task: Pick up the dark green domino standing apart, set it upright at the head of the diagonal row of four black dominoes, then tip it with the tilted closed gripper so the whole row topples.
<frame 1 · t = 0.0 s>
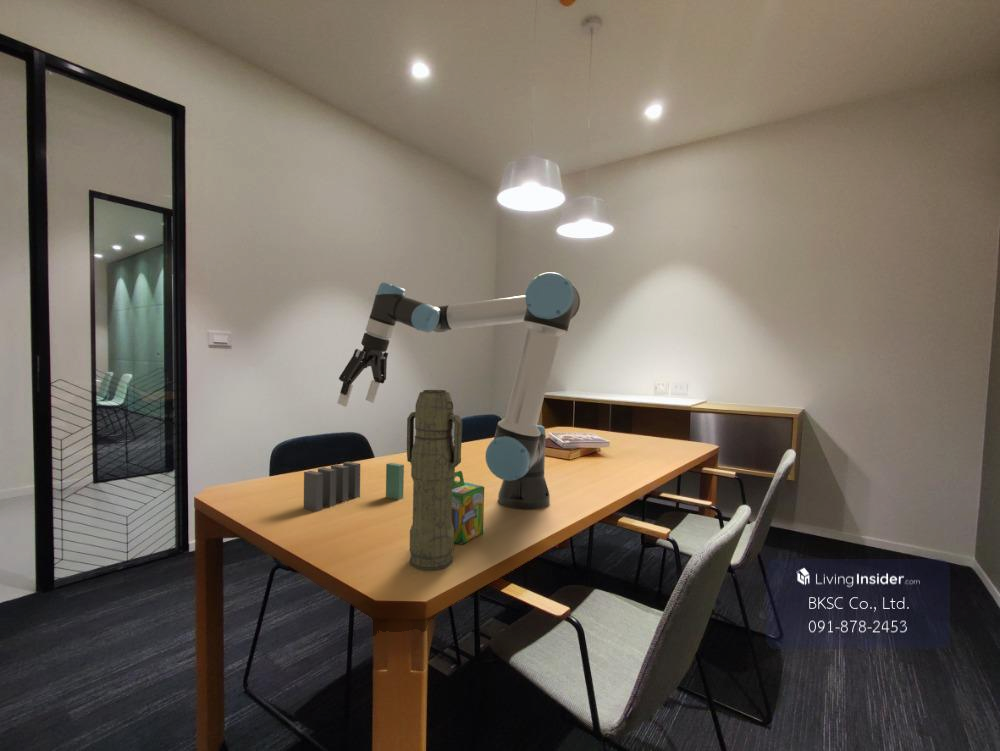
hand: (356, 403, 134), 28 cm above the table, tool tilted 20°, fingers open, 13 cm apart
thermos: (431, 562, 92), on the table
chalk box: (458, 535, 106), on the table
domino 5: (312, 509, 122), on the table
domino 3: (339, 500, 129), on the table
domino 4: (326, 504, 126), on the table
domino 2: (351, 496, 133), on the table
green domino: (394, 497, 133), on the table
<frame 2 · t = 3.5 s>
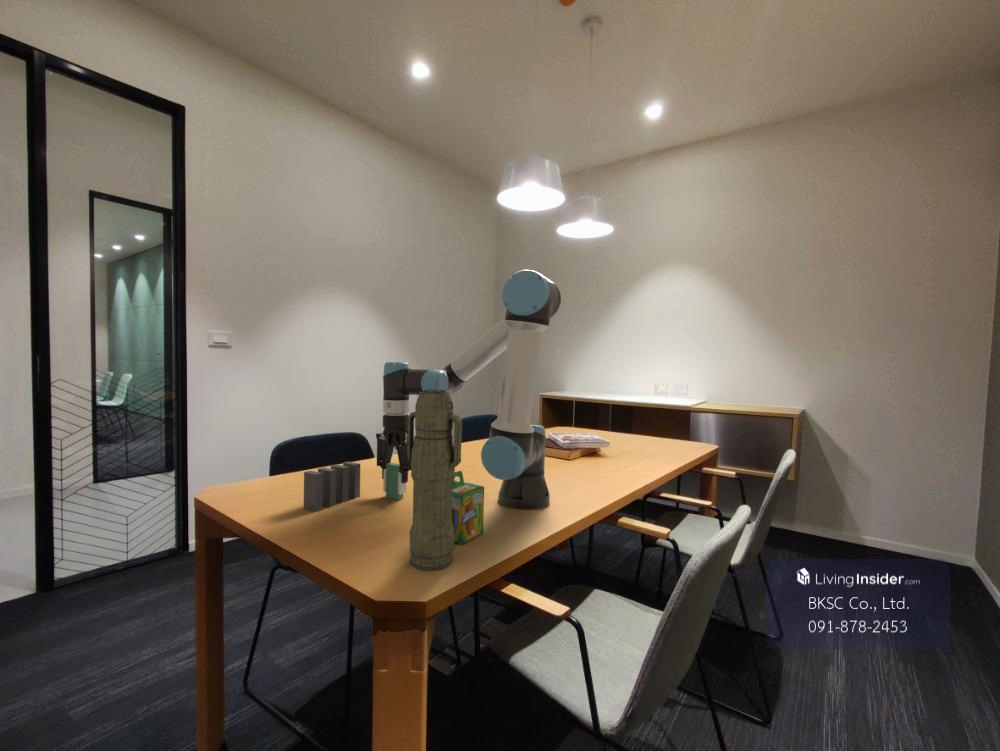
hand: (394, 491, 133), 2 cm above the table, tool pointing down, fingers closed on green domino, 5 cm apart
green domino: (394, 497, 133), on the table, touching gripper
everything else where it was.
when the fingers open (3 cm above the table, at t = 7.9 s): green domino stays where it is, on the table.
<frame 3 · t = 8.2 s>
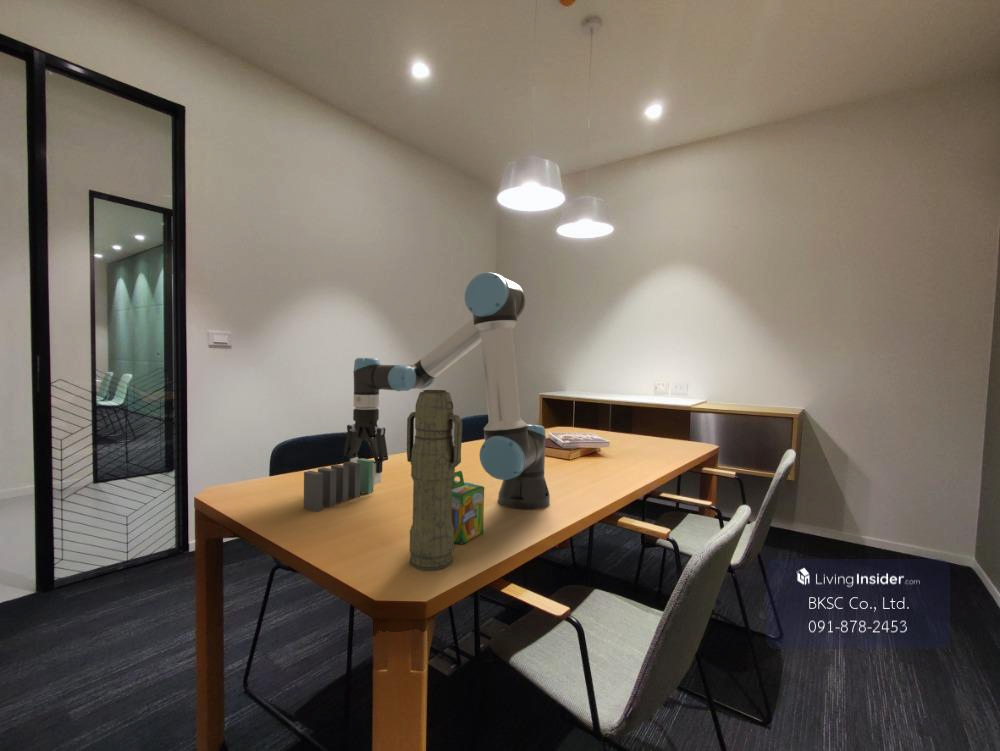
hand: (365, 481, 138), 3 cm above the table, tool pointing down, fingers open, 9 cm apart
green domino: (364, 492, 138), on the table
everything else where it was.
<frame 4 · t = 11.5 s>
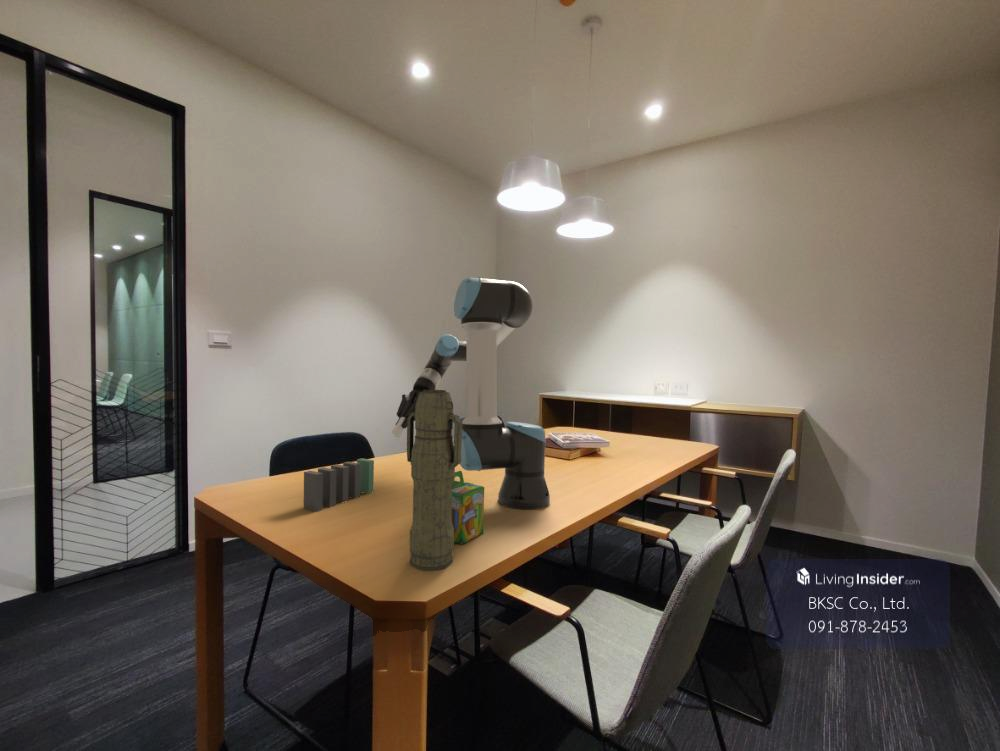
hand: (395, 434, 150), 16 cm above the table, tool tilted 45°, fingers closed
nothing on the table moved.
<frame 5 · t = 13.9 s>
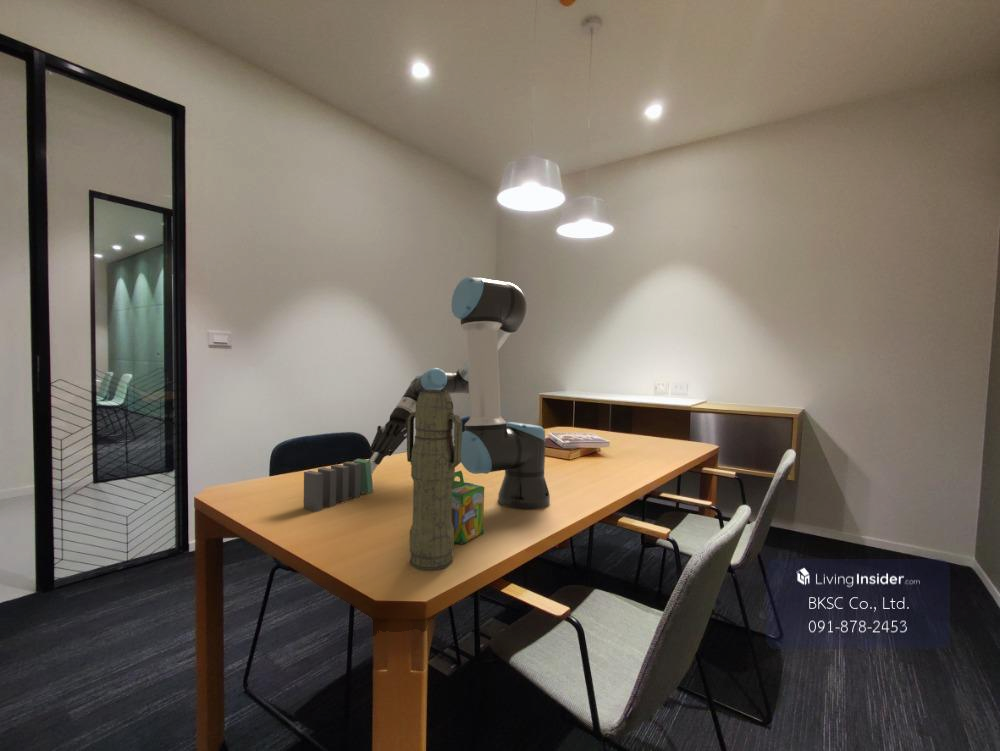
hand: (367, 471, 139), 6 cm above the table, tool tilted 45°, fingers closed
green domino: (364, 491, 138), on the table, tilted 9°
everything else where it was.
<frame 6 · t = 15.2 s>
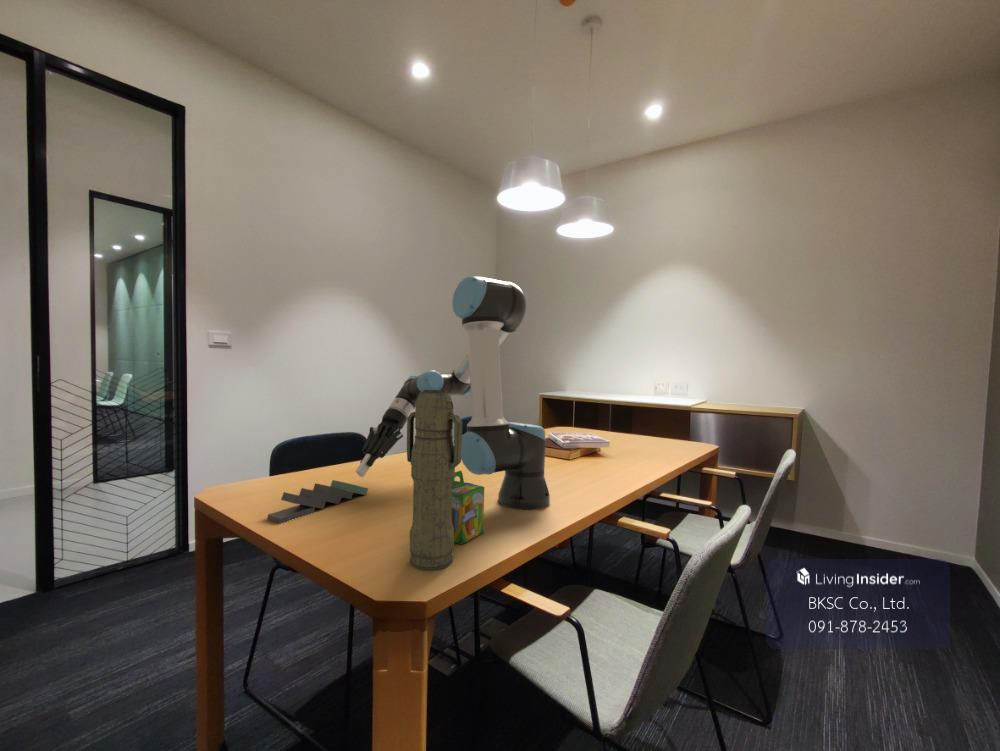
hand: (359, 474, 136), 6 cm above the table, tool tilted 45°, fingers closed
domino 5: (308, 509, 120), on the table, tilted 90°, touching domino 4
domino 3: (334, 499, 128), point 1 cm above the table, tilted 66°, touching domino 2, domino 4
domino 4: (318, 503, 123), point 1 cm above the table, tilted 66°, touching domino 3, domino 5
domino 2: (346, 494, 132), point 1 cm above the table, tilted 66°, touching domino 3
green domino: (361, 490, 137), point 1 cm above the table, tilted 67°
everything else where it was.
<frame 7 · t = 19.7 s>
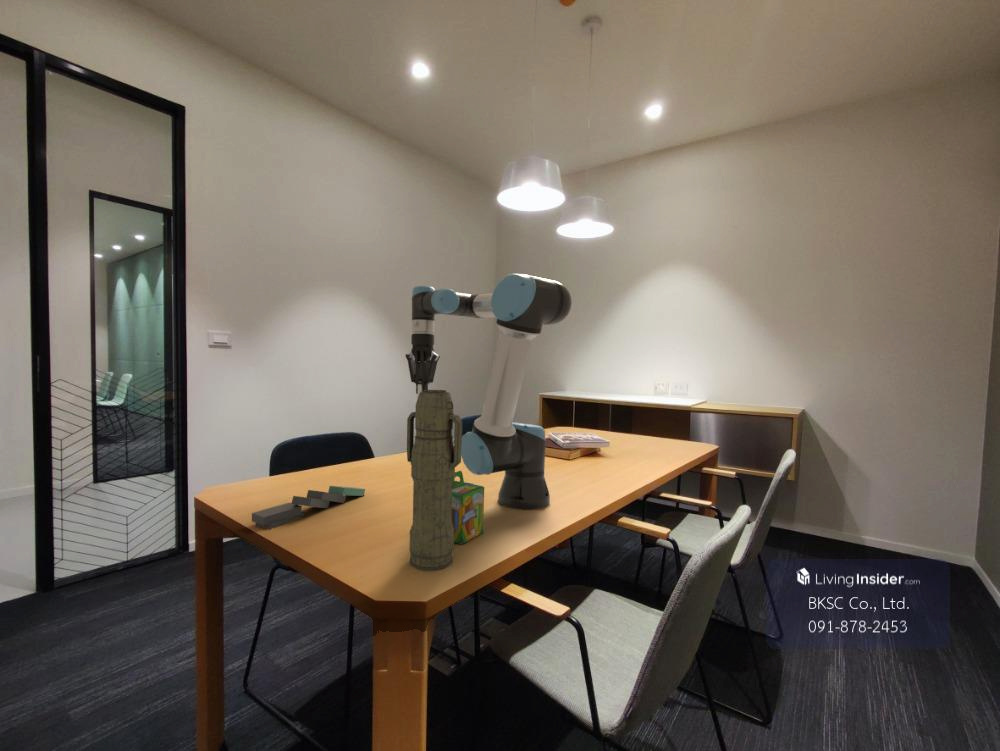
hand: (421, 403, 150), 26 cm above the table, tool pointing down, fingers closed
domino 5: (296, 514, 117), on the table, tilted 90°, touching domino 4
domino 3: (320, 503, 123), point 1 cm above the table, tilted 69°, touching domino 2, domino 4
domino 4: (295, 508, 116), point 2 cm above the table, tilted 90°, touching domino 3, domino 5
domino 2: (337, 498, 128), point 1 cm above the table, tilted 69°, touching domino 3, green domino
green domino: (357, 491, 135), point 1 cm above the table, tilted 73°, touching domino 2
everything else where it was.
at the end: domino 5 tilted 90°; green domino inside the target area (3.1 cm from its centre), point 0.9 cm above the table; green domino tilted 73° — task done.
